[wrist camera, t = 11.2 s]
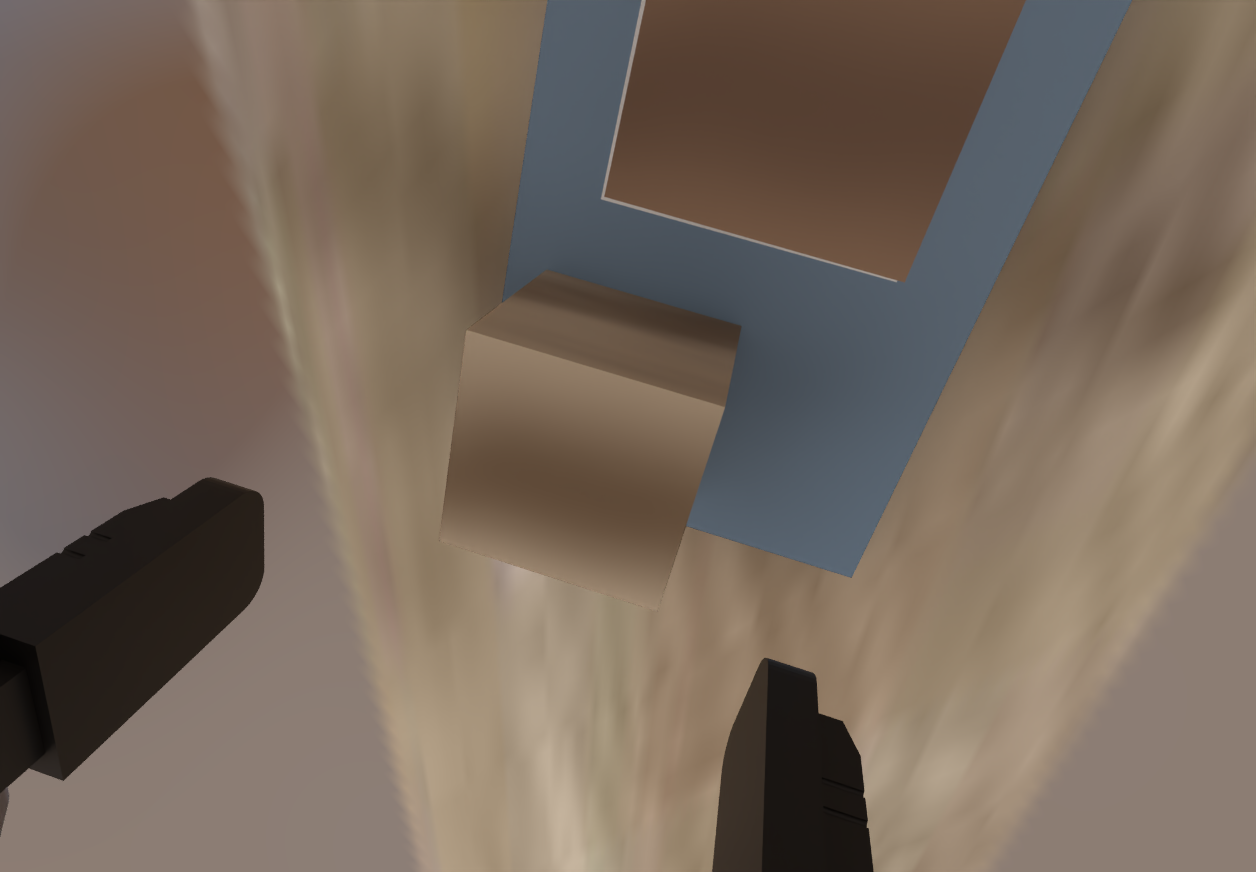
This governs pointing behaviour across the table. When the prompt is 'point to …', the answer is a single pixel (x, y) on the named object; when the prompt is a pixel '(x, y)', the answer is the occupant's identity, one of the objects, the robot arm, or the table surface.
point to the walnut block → (807, 118)
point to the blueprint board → (800, 277)
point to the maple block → (585, 433)
